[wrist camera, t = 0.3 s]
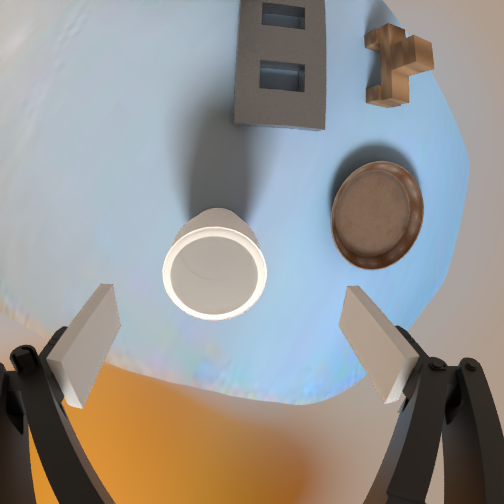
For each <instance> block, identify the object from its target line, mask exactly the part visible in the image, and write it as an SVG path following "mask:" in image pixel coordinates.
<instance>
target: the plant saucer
mask: <svg viewBox="0 0 504 504" xmlns="http://www.w3.org/2000/svg"><path fill="white" fill-rule="evenodd" d="M423 216H424V204H423V198H422V194H421V190H420V188H419V185H418V183H417V182H416V180H415V179H414V177H413V176H412V175H411V174H410V173H409V171H407V170H406V169H405V168H403V167H402V166H400V165H398V164H396V163H393V162H390V161H374V162H370V163H367V164H365V165H363V166H361V167H359V168H358V169H356V170H355V171H354V172H352V173H351V174H350V175H349V176H348V177H347V178H346V180H345V181H344V182H343V183H342V185H341V187H340V188H339V190H338V192H337V194H336V197H335V199H334V202H333V206H332V212H331V232H332V237H333V240H334V243H335V246H336V248H337V250H338V251H339V253H340V254H341V256H342V257H343V258H344V259H345V260H346V261H347V262H349V263H350V264H351V265H353V266H355V267H357V268H360V269H364V270H379V269H383V268H386V267H389V266H391V265H393V264H395V263H396V262H398V261H399V260H400V259H402V258H403V257H404V256H405V255H406V254H407V253H408V252H409V250H410V249H411V248H412V246H413V245H414V243H415V242H416V239H417V238H418V235H419V233H420V230H421V226H422V222H423Z"/></svg>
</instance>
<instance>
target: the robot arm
mask: <svg viewBox="0 0 504 504" xmlns="http://www.w3.org/2000/svg"><path fill="white" fill-rule="evenodd" d="M120 327H121V324H120V319H119V314H118V309H117V304H116V299H115V293H114V287H113V284H101V285H100V286H99V287H98V288H97V290H96V291H95V292H94V293H93V295H92V296H91V297H90V299H89V300H88V301H87V302H86V304H85V305H84V306H83V308H82V309H81V310H80V312H79V313H78V314H77V316H76V317H75V318H74V320H73V321H72V322H71V324H70V325H69V327H65V326H63V327H62V328H60V329H59V330H57V331H56V332H55V334H54V335H53V336H52V338H51V339H50V340H49V342H48V344H47V345H46V346H45V347H44V349H43V350H42V352H41V353H40V354H39V356H38V354H37V352H36V350H35V348H34V347H33V346H31V345H22V346H19V347H17V348H16V349H14V350H13V351H12V353H11V354H10V360H11V362H12V364H13V366H14V368H15V370H16V371H6V369H5V367H4V365H3V364H2V363H0V504H36V499H35V493H34V487H33V480H32V473H31V463H30V453H29V434H28V424H29V427H30V431H31V434H32V437H33V440H34V443H35V446H36V449H37V452H38V455H39V457H40V460H41V463H42V466H43V468H44V471H45V473H46V476H47V478H48V480H49V483H50V485H51V487H52V489H53V491H54V494H55V496H56V498H57V500H58V502H59V504H116V503H115V502H114V501H113V499H112V498H111V496H110V495H109V493H108V492H107V490H106V488H105V487H104V485H103V484H102V482H101V480H100V479H99V477H98V476H97V474H96V472H95V470H94V469H93V467H92V465H91V463H90V462H89V460H88V458H87V456H86V454H85V452H84V450H83V448H82V446H81V444H80V442H79V440H78V438H77V436H76V434H75V432H74V430H73V428H72V426H71V424H70V421H69V419H68V417H67V414H66V412H65V410H64V407H63V405H62V404H61V402H62V400H63V398H64V397H65V399H66V401H67V403H68V405H69V406H73V407H77V408H82V409H83V408H84V405H85V403H86V401H87V398H88V396H89V394H90V391H91V389H92V387H93V384H94V382H95V380H96V377H97V375H98V373H99V371H100V369H101V366H102V364H103V362H104V360H105V358H106V356H107V353H108V351H109V349H110V347H111V345H112V343H113V341H114V339H115V337H116V335H117V333H118V331H119V329H120ZM339 328H340V329H341V331H342V333H343V334H344V336H345V338H346V339H347V341H348V343H349V344H350V346H351V348H352V349H353V351H354V353H355V354H356V356H357V358H358V359H359V361H360V363H361V364H362V366H363V368H364V370H365V371H366V373H367V375H368V376H369V378H370V380H371V382H372V383H373V385H374V387H375V388H376V390H377V392H378V394H379V395H380V397H381V399H382V401H383V402H384V404H386V403H390V402H394V401H397V400H398V399H399V397H400V395H401V393H402V391H403V393H404V394H405V396H406V398H405V400H404V402H403V403H402V405H401V407H400V409H399V410H398V413H400V414H399V418H398V421H397V424H396V427H395V430H394V433H393V436H392V438H391V441H390V444H389V447H388V449H387V452H386V454H385V457H384V459H383V462H382V464H381V466H380V469H379V471H378V473H377V476H376V478H375V480H374V482H373V485H372V487H371V489H370V491H369V493H368V495H367V497H366V499H365V501H364V503H363V504H426V503H425V498H426V494H427V491H428V488H429V485H430V481H431V477H432V474H433V469H434V465H435V461H436V457H437V452H438V447H439V442H440V437H441V431H442V442H443V456H444V504H504V437H503V433H502V429H501V425H500V421H499V418H498V414H497V410H496V407H495V404H494V401H493V398H492V394H491V392H490V389H489V386H488V383H487V380H486V377H485V374H484V372H483V369H482V367H481V365H480V363H478V362H477V361H476V360H475V359H473V358H463V359H462V360H461V362H460V364H459V365H458V366H447V364H446V363H445V362H444V361H443V360H441V359H439V358H436V357H429V356H428V355H427V354H426V353H425V352H424V351H423V349H422V348H421V347H420V346H419V345H418V344H417V343H416V342H415V340H414V339H413V338H411V335H410V334H409V333H408V332H407V331H406V330H405V329H403V328H401V327H400V326H394V325H393V324H392V323H391V321H390V320H389V319H388V318H387V317H386V316H385V314H384V313H383V312H382V311H381V310H380V309H379V308H378V307H377V305H376V304H375V303H374V302H373V301H372V300H371V299H370V298H369V296H368V295H367V294H366V293H365V292H364V291H363V290H362V289H361V288H360V286H347V290H346V295H345V300H344V304H343V309H342V313H341V318H340V322H339Z"/></svg>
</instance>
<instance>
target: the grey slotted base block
mask: <svg viewBox="0 0 504 504" xmlns="http://www.w3.org/2000/svg"><path fill="white" fill-rule="evenodd" d="M262 13H270V14H279V15H287V16H294V17H299V29H295V28H288V27H280V26H271V25H262ZM260 68H273V69H283V70H292V71H299V73H298V92H296V91H287V90H276V89H263V88H259V81H260ZM325 113H326V24H325V2H324V0H240V8H239V24H238V40H237V58H236V77H235V99H234V123H233V125H236V126H261V127H277V128H290V129H301V130H311V131H320V130H325Z"/></svg>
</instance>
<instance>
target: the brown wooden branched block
mask: <svg viewBox="0 0 504 504" xmlns="http://www.w3.org/2000/svg"><path fill="white" fill-rule="evenodd" d="M364 38H365V48H367V49H371V50H374V51H378V52H380V61H381V85H376V86H373V87H370V88H367V89H366V103H369V104H373V105H377V106H382V107H386V108H389V107H395V106H401V104H405V103H409V76H411V75H414V74H418V73H421V72H425V71H428V70H432V69H434V62H433V52H432V44H431V42H428V41H426V40H424V39H422V38H420V37H417V36H415V35H412V36H410V37H408V38H406V37H405V29H402V28H400V27H397V26H394V25H392V24H389V23H387V24H386V25H384V26H383V27H381V28H379V29H376V28H375V29H374V30H372V31H371V32H369V33H368V34H366V35H365V36H364Z"/></svg>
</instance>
